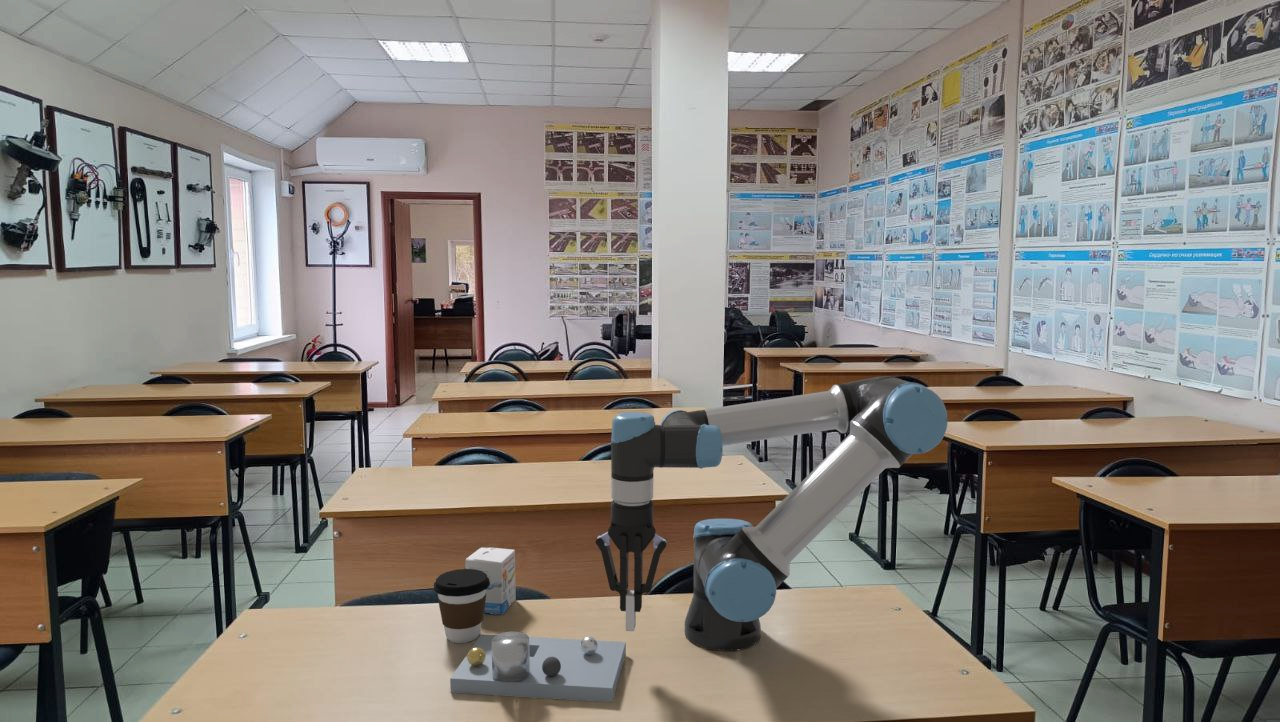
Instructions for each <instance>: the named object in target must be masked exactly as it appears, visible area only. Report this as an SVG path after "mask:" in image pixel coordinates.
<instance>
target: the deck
mask: <svg viewBox="0 0 1280 722" xmlns="http://www.w3.org/2000/svg"><path fill="white" fill-rule="evenodd" d="M496 635H497V634H483V633H482V634H480V636H478V637H479V638H477V639H476V642H475V643H474V645H473V646H472V647H471V649H472V648H474V647H480V648H482V649H483V650H484V651H485V654H486V658H485V661H484V662H483V663H482V664H481V665H480V666H472V665H470V664H469V662H468V660H467V655H468V653H467V654H466V656H465V657H464V659H463V660H462V661H461V663H460V664H459V665H458V666H457V668H456V669H455V671H454V672H453V673H452V675H451V676H450V679H449V682H450V686H449V687H450V689H449V690H450V693H453V694H455V693H456V694H457V693H458V694H470V695H489V696H501V697H502V696H504V697H519V698H520V697H521V698H534V699H552V700H553V699H554V700H566V701H567V700H568V701H583V702H585V701H586V702H600V703H613V700H614V697H615V695H616V691H617V687H618V684H619V681H620V676H621V673H622V670H623V666H624V662H625V659H626V656H627V653H626V652H627V647H626V644H627V643H626V641H612V640H597V639H596V641H597V643H598V648H597V650H596V652H595V653H594V654H592V655H586V654H584V653H583V652H582V651H581V648H580V644H581V641H582V640H583V639H576V638H575V639H574V638H555V637H538V636H529V649H530V673H529V675H528V676H527V677H526V678H525V679H523V680H520V681H517V682H500V681H497V680H495V679H494V678H493V676H492V639H493V638H494V637H495V636H496ZM548 657H556V658H557V659H558V660H559V661H560V664H561V669H560V671H559V673H558V674H557V675H555V676H553V677H550V676H547V675H545V674H544V672H543V670H542V664H543V662H544V660H545V659H546V658H548Z"/></svg>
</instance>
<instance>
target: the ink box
mask: <svg viewBox="0 0 1280 722" xmlns="http://www.w3.org/2000/svg"><path fill="white" fill-rule="evenodd" d="M464 561H465V562H464V563H465V569H476V570H480V571H483V572H484V573H486V574H487V577H488V578H489V580H490V585H489V587H488V588H487V589H486V601H485V608H484V614H485V613H492V614H491V615H496V614H503V613H504V614H505V612H506V611H508V609H509V608H510V607H511V606H510V604H511V603H512V604H514V603H515V601H516V600H517V599H516V596H517V594H516V550H515V549H512V548H511V549H509V548H501V547H480V548H479V549H477V550H476V551H474V552H473V553H472V554H470V555H469V556H468V557H466V558H465V560H464ZM512 604H511V605H512ZM509 606H510V607H509ZM508 607H509V608H508ZM507 608H508V609H507ZM504 614H503V615H504Z"/></svg>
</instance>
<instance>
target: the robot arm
mask: <svg viewBox="0 0 1280 722" xmlns="http://www.w3.org/2000/svg"><path fill="white" fill-rule="evenodd" d="M947 429H948V412H947V409H946V406H945V403H944V402H943V400H942V398H941V397H940V396H939V395H938V393H936V392H934V391H933V390H931V389H930V388H928V387H927V386H925V385H923V384H921V383H918V382H910V381H908V380H903V379H901V378H899V377H896V376H895V377H894V376H891V375H889V376H886V375H885V376H874V377H869V378H865V379H860V380H854V381H849V382H844V383H837V384H833V385H832V386H831V388H830V389H829V390H826V391H819V392H812V393H805V394H800V395H799V394H798V395H793V396H792V395H791V396H785V397H780V398H779V397H778V398H773V399H765V400H758V401H752V402H746V403H739V404H732V405H727V406H726V405H725V406H719V407H714V408H713V407H712V408H707V409H701V410H700V409H699V410H693V411H686V410H681V409H676V410H672V411H669V413H667V414H666V415H665V416H664V417H663V418H662V420H661V422H660V424H656V421H655V417H654V415H653V414H651V413H648V412H647V413H646V412H637V411H632V412H631V411H629V412H627V411H626V412H622V413H621V412H620V413H618V414H616V415H615V416H614V417H613V419H612V423H611V439H610V443H611V444H610V446H611V447H610V451H611V452H610V453H611V456H610V457H611V459H610V461H611V462H610V463H611V464H610V466H611V467H610V469H611V470H610V472H611V473H610V475H611V476H610V499H612V501H611V502H610V524H609V527H608V529H607V532H605V533H602V534H599V535H598V536H597V538H596V540H595V544H596V546H597V547H598V549H599V551H600V553H601V557H602V561H603V564H604V565H603V566H604V570H605V573H606V578H607V581H608V586H609V590H610V591H612V592H617V593H618V594H619V610H620V612H625V632H635V628H636V625H637V623H636V620H637V619H636V618H637V613H641V610H642V607H643V594H645V593H646V594H647V593H648V594H649V593H650V592H651V590H652V587H653V584H654V580H655V577H656V576H655V575H656V572H657V568H658V564H659V561H660V558H661V554H662V553H663V551H664V550H665V549H666V547H667V544H668V539H667V538H666V537H661V536H660V535H659V534H657V533H656V528H655V526H654V502H653V501H652V500H653V499H654V469H655V468H659V469H660V468H663V469H664V468H669V469H670V468H675V469H676V468H681V469H682V468H685V469H687V468H689V469H691V468H692V469H693V468H694V469H701V470H702V469H704V468H716V467H718V466H719V465H720V464H721V462H722V459H723V447H724V446H730V445H738V444H744V443H751V442H759V441H763V440H764V441H765V440H770V439H778V438H785V437H791V436H798V435H805V434H811V433H812V434H813V433H819V432H825V431H832V430H837V431H838V432H839V433H840V434H847V433H849V434H848V435H847V436H846V437H845V438H844V439H843V440H842V441H841V442H840V443H839V444H838V445H837V446H836V447H835V448H834V449H833V450H832V451H831V452H830V453H829V454H828V455H827V456H826V457H825V458H824V459H823V460H822V461H821V462H820V463H819V464H818V465H817V466H816V467H815V468H814V469H813V470H811V472H810V473H808V475H807V476H806V477H805V478H804V479H803V480H802V481H801V482H800V483H798V484H797V486H796V487H795V488H793V490H792V491H791V492H790V493H788V494H787V495H786V496H785V497H784V499H782V500H781V501H780V502H779V503H778V504H777V505H776V506H775V507H774V508H773V509H772V510H771V511H770V512H769V513H768V514H767V515H766V516H765V517H764V518H763V519H762V520H761V521H760V522H759V523H758V524H757V525H756V526H753V524H752V523H750V522H749V521H746V520H743V519H738V518H737V519H736V518H708V519H704V520H700V521H698V522H697V523H696V524H695V525H694V530H693V536H692V539H693V596H692V598H691V601H690V604H689V607H688V610H687V613H686V616H685V619H684V636H685V637H686V639H687V640H688V641H689V642H691V643H692V644H695V645H696V646H699V647H701V648H704V649H709V650H713V651H714V650H715V651H723V652H724V651H725V652H726V651H737V650H739V651H740V650H743V649H748V648H750V647H752V646H754V645H755V644H757V643H758V642H759V641H760V640H761V637H762V636H761V634H762V632H761V629H762V628H761V627H762V626H761V621H760V619H761V618H762V617H763V616H764V615H766V614H768V612H769V611H770V610H771V608H772V606H773V605H774V603H775V600H776V595H777V588H779V586H781V584H782V583H783V582H784V581H785V580H787V579H788V577H789V576H790V575H791V569H790V568H791V567H790V566H791V562H792V561H793V560H794V559H795V558H796V557H797V556H798V555H799V554H800V553H801V552H802V551H804V549H805V548H806V547H807V546H809V544H810V543H811V542H812V541H813V540H815V539H816V537H817V536H818V535H820V533H821V532H822V531H823V530H824V529H825V528H826V527H828V526H829V525H830V523H831V522H832V521H834V520H835V519H836V517H838V516H839V515H840V514H841V513H842V512H843V511H844V510H845V508H847V507H848V506H849V505H850V504H851V503H852V502H853V501H854V500H855V499H857V497H858V496H859V495H860V494H861V493H862V492H863V491H864V490H865V489H866V488H867V487H868V486H869V485H870V484H871V483H873V481H874V480H875V479H877V478H878V476H880V474H881V473H882V472H883V471H884V470H885V469H892V468H894V469H899V468H900V467H901V466H903V464H904V463H906V461H908V459H910V458H911V457H912V456H913V455H920V454H925V453H927V452H929V451H931V450H933V449H935V448H936V447H937V446H939V444H940V443H941V441H942V440H943V438H944V436H945V435H946V431H947ZM611 541H612V542H613V543H614V545H615V546H616V548H617V549H618V550H619V580H618V574H617V571H616V567H615V562H614V558H613V553H612V549H611V547H610V543H611ZM652 541H653V543H652V546H653V547H652V548H653V549H654V551H653V555H652V557H651V562H650V565H649V569H648V572H647V573H648V574H647V577H646V581H645V582H644V583H643V565H644V564H643V560H644V559H643V557H644V555H643V554H644V551H645V550H646V548H647V547H648V546H649V544H650V543H651V542H652ZM629 553H633V559H634V560H633V561H634V562H633V563H634V565H633V566H634V568H633V569H634V570H633V571H634V572H633V577H634V579H633V589H632V590H631V589H628V588H629Z"/></svg>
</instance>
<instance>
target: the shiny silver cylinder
mask: <svg viewBox="0 0 1280 722" xmlns="http://www.w3.org/2000/svg"><path fill="white" fill-rule="evenodd" d="M495 635H496V636H495V637H494V638H493V639H492V676H493V678H494V679H495V680H497V681H500V682H517V681H520V680H523V679H525V678H526V677H527V676H528V675H529V673H530V649H529V637H530V636H529V635H528V634H527V633H524V632H522V631H513V630H512V631H505V632H501V633H499V634H495Z"/></svg>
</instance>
